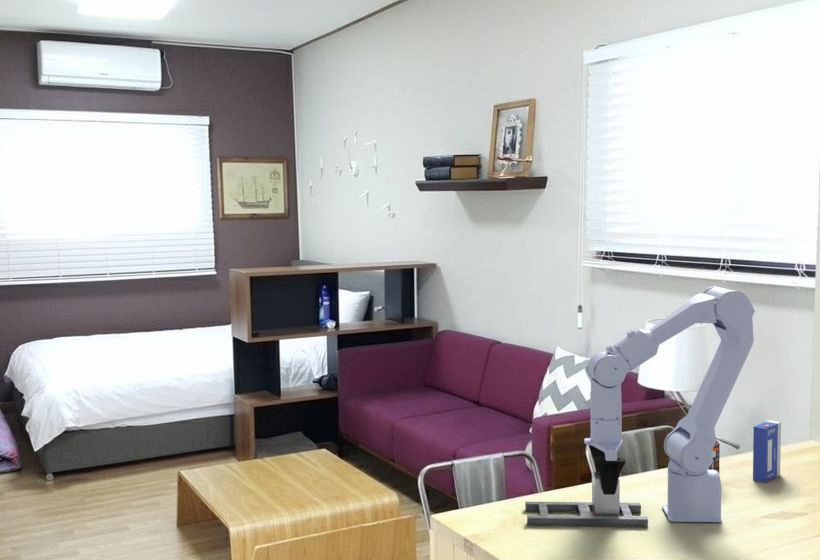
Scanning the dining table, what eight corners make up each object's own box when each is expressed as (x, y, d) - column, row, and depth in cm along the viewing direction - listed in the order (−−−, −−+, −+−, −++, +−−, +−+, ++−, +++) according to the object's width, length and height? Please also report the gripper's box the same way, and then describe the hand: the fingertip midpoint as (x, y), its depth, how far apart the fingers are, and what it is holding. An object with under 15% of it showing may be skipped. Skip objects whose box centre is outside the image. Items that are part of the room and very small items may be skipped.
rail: (639, 510, 169) (639, 502, 169) (647, 527, 160) (647, 519, 160) (525, 508, 171) (525, 501, 171) (527, 525, 162) (527, 517, 162)
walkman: (765, 483, 184) (766, 427, 183) (752, 480, 186) (753, 425, 185) (781, 474, 190) (782, 420, 189) (768, 471, 192) (769, 418, 191)
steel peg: (615, 512, 168) (615, 471, 167) (619, 520, 163) (619, 479, 162) (592, 512, 168) (592, 471, 167) (595, 520, 163) (595, 479, 163)
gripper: (580, 407, 171) (580, 475, 173) (588, 426, 157) (589, 500, 158) (616, 407, 171) (617, 475, 172) (628, 426, 156) (628, 500, 157)
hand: (606, 487), depth 165 cm, fingers open, 7 cm apart
